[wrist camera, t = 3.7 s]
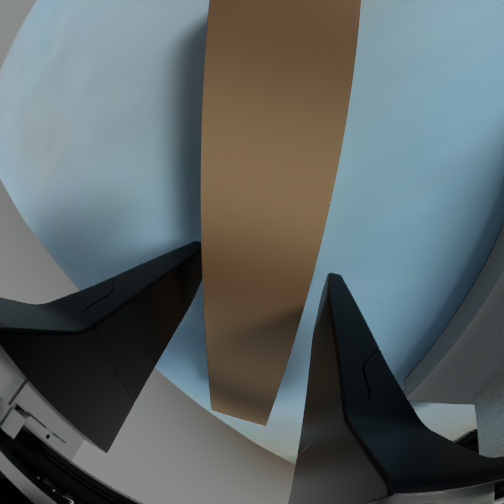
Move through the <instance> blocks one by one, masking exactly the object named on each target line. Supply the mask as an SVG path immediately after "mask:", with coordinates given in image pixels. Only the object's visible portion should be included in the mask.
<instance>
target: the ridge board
mask: <svg viewBox="0 0 504 504" xmlns="http://www.w3.org/2000/svg"><path fill="white" fill-rule="evenodd" d="M503 365H504V225H503V228H502V230H501V232H500V234H499V236H498V239H497V241H496V243H495V245H494V247H493V249H492V251H491V253H490V255H489V257H488V259H487V261H486V263H485V265H484V267H483V268H482V270H481V272H480V274H479V276H478V277H477V279H476V281H475V283H474V284H473V286H472V288H471V290H470V291H469V293H468V295H467V296H466V298H465V299H464V301H463V303H462V304H461V306H460V307H459V309H458V310H457V312H456V313H455V315H454V316H453V318H452V319H451V321H450V322H449V324H448V325H447V327H446V328H445V330H444V331H443V332H442V334H441V335H440V336H439V338H438V339H437V341H436V342H435V343H434V345H433V346H432V347H431V349H430V350H429V351H428V352H427V354H426V355H425V356H424V357H423V359H422V360H421V361H420V362H419V364H418V365H417V366H416V367H415V369H414V370H413V371H412V372H411V373H410V374H409V376H408V377H407V378H406V379H405V380H404V394H405V396H406V398H407V399H408V400H409V401H420V402H432V403H447V404H474V398H473V395H474V394H475V393H476V392H477V391H478V390H479V389H480V388H481V387H482V386H483V385H484V384H485V383H486V382H487V381H488V380H489V379H490V378H491V377H492V376H493V375H494V374H495V373H496V372H497V371H498V370H499V369H500V368H501V367H502V366H503Z"/></svg>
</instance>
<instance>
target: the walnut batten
mask: <svg viewBox="0 0 504 504" xmlns="http://www.w3.org/2000/svg"><path fill="white" fill-rule="evenodd" d="M360 3H361V0H210V2H209V12H208V23H207V35H206V49H205V64H204V81H203V103H202V133H201V246H202V278H203V300H204V319H205V336H206V350H207V364H208V376H209V388H210V399H211V409H212V410H214V411H217V412H220V413H223V414H226V415H230V416H233V417H236V418H240V419H243V420H246V421H250V422H254V423H257V424H261V425H265V426H266V423H267V421H268V418H269V415H270V412H271V410H272V407H273V404H274V401H275V398H276V395H277V392H278V389H279V386H280V383H281V380H282V377H283V374H284V371H285V368H286V365H287V362H288V359H289V356H290V353H291V349H292V346H293V343H294V340H295V336H296V333H297V330H298V326H299V323H300V319H301V316H302V312H303V309H304V305H305V302H306V298H307V295H308V291H309V287H310V284H311V280H312V276H313V272H314V269H315V265H316V261H317V257H318V253H319V249H320V245H321V241H322V237H323V232H324V228H325V224H326V219H327V215H328V211H329V206H330V202H331V197H332V192H333V188H334V183H335V178H336V173H337V168H338V163H339V158H340V152H341V147H342V142H343V136H344V130H345V124H346V118H347V112H348V106H349V99H350V93H351V86H352V79H353V71H354V63H355V55H356V47H357V37H358V27H359V16H360Z"/></svg>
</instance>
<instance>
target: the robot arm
mask: <svg viewBox="0 0 504 504" xmlns="http://www.w3.org/2000/svg"><path fill="white" fill-rule="evenodd" d="M201 280H202V246H201V242H199V241H194V242H192V243H190V244H187V245H185V246H182V247H180V248H178V249H175V250H173V251H171V252H169V253H166V254H164V255H162V256H159V257H157V258H155V259H152V260H150V261H148V262H146V263H143V264H141V265H139V266H137V267H134V268H132V269H130V270H128V271H125V272H123V273H121V274H119V275H116V276H115V277H112V278H110V279H108V280H105V281H103V282H101V283H99V284H96V285H94V286H92V287H89V288H86V289H84V290H81V291H79V292H77V293H73V294H71V295H68V296H66V297H63V298H60V299H57V300H55V301H52V302H49V303H46V304H38V305H35V304H27V303H22V302H18V301H13V300H9V299H4V298H0V504H71V501H70V500H69V499H71V500H73V501H74V504H143V503H141V502H139V501H137V500H135V499H133V498H131V497H129V496H127V495H125V494H123V493H121V492H120V491H118V490H116V489H114V488H112V487H111V486H109V485H107V484H105V483H104V482H102V481H101V480H99V479H97V478H96V477H94V476H93V475H91V474H89V473H88V472H86V471H85V470H83V469H82V468H80V467H79V466H77V465H76V464H74V463H73V462H72V459H73V457H74V456H75V454H76V452H77V451H78V449H79V448H80V446H81V444H82V443H83V441H84V440H86V441H88V442H89V443H91V444H92V445H94V446H95V447H97V448H99V449H100V450H102V451H104V452H105V453H107V452H108V450H109V448H110V447H111V445H112V443H113V441H114V440H115V438H116V436H117V434H118V432H119V430H120V428H121V427H122V425H123V423H124V421H125V419H126V417H127V416H128V414H129V412H130V410H131V408H132V406H133V405H134V402H135V401H136V399H137V397H138V395H139V394H140V392H141V390H142V388H143V387H144V385H145V383H146V381H147V379H148V378H149V376H150V374H151V372H152V371H153V369H154V367H155V365H156V364H157V362H158V360H159V358H160V357H161V355H162V353H163V351H164V350H165V348H166V346H167V344H168V343H169V341H170V339H171V338H172V336H173V334H174V332H175V331H176V329H177V327H178V326H179V324H180V322H181V320H182V319H183V317H184V315H185V314H186V312H187V310H188V308H189V307H190V305H191V303H192V301H193V299H194V296H195V294H196V292H197V290H198V287H199V285H200V283H201ZM297 456H298V457H297V461H296V467H295V472H294V478H293V483H292V488H291V493H290V498H289V503H288V504H494V503H495V502H497V501H500V500H503V499H504V456H502V457H494V458H492V457H486V456H482V455H479V444H478V431H476V432H474V433H473V434H472V435H470V436H469V437H467V438H466V439H464V440H463V441H461V442H460V443H458V444H456V443H454V442H452V441H450V440H448V439H446V438H445V437H443V436H441V435H439V434H437V433H435V432H433V431H431V430H430V429H429V428H427V427H426V426H425V425H424V424H423V423H422V421H421V420H420V419H419V417H418V416H417V414H416V413H415V411H414V409H413V408H412V406H411V404H410V403H409V401H408V399H407V398H406V396H405V394H404V393H403V391H402V389H401V388H400V386H399V384H398V383H397V381H396V379H395V378H394V376H393V374H392V372H391V371H390V369H389V367H388V365H387V363H386V361H385V359H384V357H383V355H382V353H381V351H380V349H379V347H378V345H377V343H376V341H375V339H374V337H373V335H372V333H371V331H370V329H369V327H368V325H367V323H366V321H365V319H364V317H363V315H362V313H361V312H360V310H359V308H358V306H357V304H356V302H355V300H354V298H353V296H352V295H351V293H350V291H349V289H348V287H347V285H346V284H345V282H344V280H343V278H342V276H341V275H338V274H334V273H329V274H328V276H327V279H326V282H325V285H324V288H323V291H322V295H321V300H320V304H319V309H318V314H317V319H316V323H315V328H314V333H313V339H312V349H311V359H310V368H309V377H308V386H307V394H306V402H305V409H304V417H303V424H302V430H301V437H300V443H299V449H298V455H297ZM502 488H503V489H502ZM63 496H64V497H63ZM65 497H66V498H65ZM67 498H68V499H67Z"/></svg>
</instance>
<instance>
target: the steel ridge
mask: <svg viewBox="0 0 504 504" xmlns="http://www.w3.org/2000/svg"><path fill="white" fill-rule="evenodd" d="M473 398H474V405H475V412H476V421H477V431H478V444H479V455H482V456H486V457H492V458H494V457H502V456H504V365H503V366H502V367H501V368H500V369H499V370H498V371H497V372H496V373H495V374H494V375H493V376H492V377H491V378H490V379H489V380H488V381H487V382H486V383H485V384H484V385H483V386H482V387H481V388H480V389H479V390H478V391H477V392H476V393H475V394H474V395H473ZM502 489H503V488H502Z"/></svg>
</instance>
